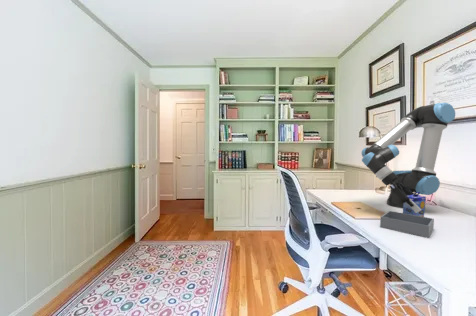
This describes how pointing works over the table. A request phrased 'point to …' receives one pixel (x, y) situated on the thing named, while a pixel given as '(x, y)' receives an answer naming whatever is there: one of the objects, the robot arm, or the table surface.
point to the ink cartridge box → (418, 201)
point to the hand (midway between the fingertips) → (420, 209)
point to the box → (407, 223)
